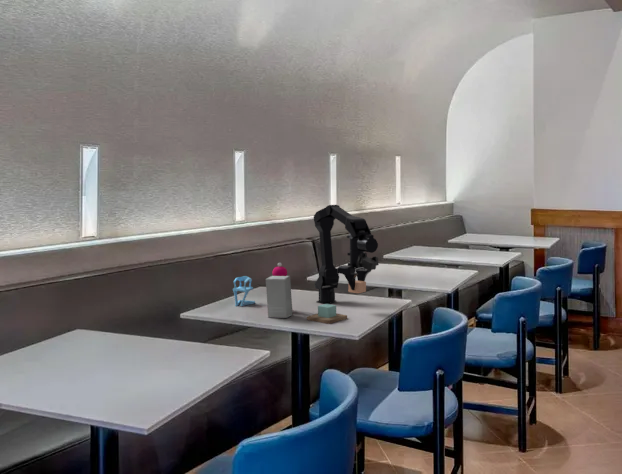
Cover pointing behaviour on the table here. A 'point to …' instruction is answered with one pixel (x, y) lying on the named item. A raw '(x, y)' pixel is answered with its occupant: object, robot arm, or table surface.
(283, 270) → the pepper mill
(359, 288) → the tan brick
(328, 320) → the walnut board
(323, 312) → the teal brick
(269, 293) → the skincare box
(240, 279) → the chair
